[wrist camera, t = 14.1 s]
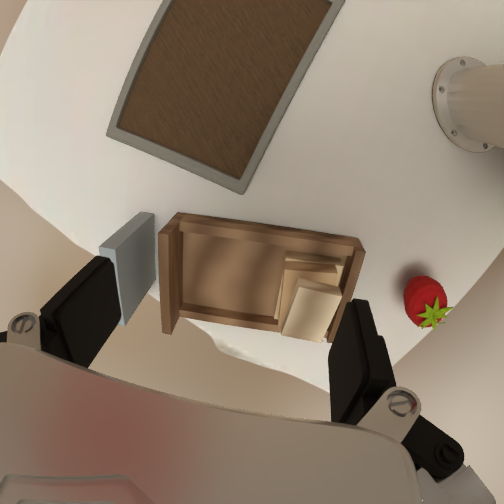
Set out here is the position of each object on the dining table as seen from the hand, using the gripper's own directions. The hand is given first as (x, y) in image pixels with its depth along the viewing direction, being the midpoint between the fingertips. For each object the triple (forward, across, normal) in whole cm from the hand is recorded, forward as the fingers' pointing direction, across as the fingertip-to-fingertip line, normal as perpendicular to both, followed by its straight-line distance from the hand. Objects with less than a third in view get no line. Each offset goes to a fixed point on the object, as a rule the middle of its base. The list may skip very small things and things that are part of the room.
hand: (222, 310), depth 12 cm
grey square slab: (+26, +15, +12) cm, 32 cm away
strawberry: (+27, -22, +12) cm, 37 cm away
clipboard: (+27, +7, -14) cm, 31 cm away
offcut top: (+21, -7, +14) cm, 26 cm away
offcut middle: (+23, -6, +13) cm, 27 cm away
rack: (+26, 0, +14) cm, 29 cm away
